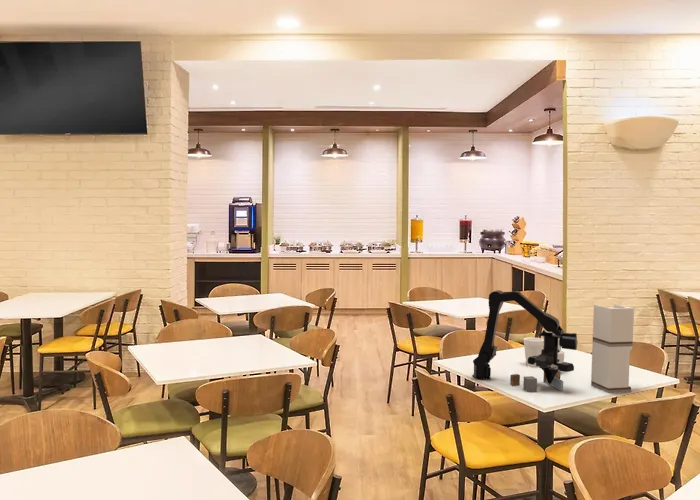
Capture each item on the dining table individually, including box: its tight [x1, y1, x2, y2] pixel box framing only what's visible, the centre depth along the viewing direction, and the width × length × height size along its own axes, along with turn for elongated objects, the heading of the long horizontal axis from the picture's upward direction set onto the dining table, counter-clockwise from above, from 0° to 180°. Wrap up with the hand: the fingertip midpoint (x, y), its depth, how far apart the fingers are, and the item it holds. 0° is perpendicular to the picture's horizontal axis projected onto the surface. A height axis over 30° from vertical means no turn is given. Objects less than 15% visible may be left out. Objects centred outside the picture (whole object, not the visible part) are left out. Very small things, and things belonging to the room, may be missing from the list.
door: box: [546, 377, 564, 392], centre depth 244 cm, size 13×2×4 cm, turn 8°
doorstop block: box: [522, 375, 538, 393], centre depth 238 cm, size 4×4×6 cm
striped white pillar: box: [590, 304, 635, 394], centre depth 242 cm, size 11×11×35 cm
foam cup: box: [523, 336, 544, 368], centre depth 281 cm, size 10×9×13 cm
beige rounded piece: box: [557, 350, 565, 375], centre depth 268 cm, size 8×8×10 cm
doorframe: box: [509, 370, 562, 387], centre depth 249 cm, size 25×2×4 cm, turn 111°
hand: (549, 383), depth 243 cm, fingers closed
